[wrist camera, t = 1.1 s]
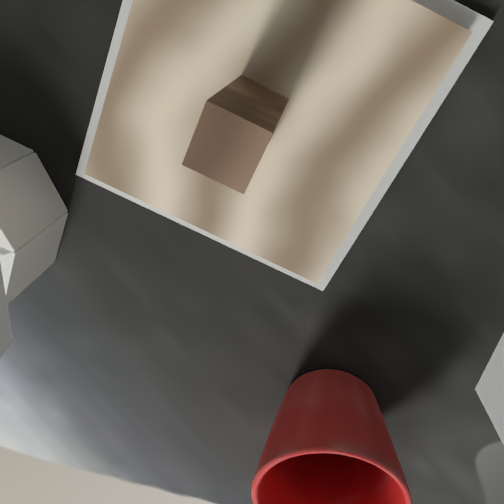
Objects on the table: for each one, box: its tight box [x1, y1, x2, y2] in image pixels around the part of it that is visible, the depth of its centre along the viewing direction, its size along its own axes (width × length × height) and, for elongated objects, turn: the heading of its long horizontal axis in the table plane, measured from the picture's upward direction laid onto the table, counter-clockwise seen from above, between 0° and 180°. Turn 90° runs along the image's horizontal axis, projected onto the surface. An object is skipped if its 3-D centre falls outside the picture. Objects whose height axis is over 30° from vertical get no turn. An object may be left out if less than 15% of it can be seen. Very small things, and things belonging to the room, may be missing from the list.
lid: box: [84, 0, 472, 283], centre depth 26 cm, size 18×18×10 cm
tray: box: [76, 0, 494, 291], centre depth 31 cm, size 20×20×1 cm
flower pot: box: [251, 369, 412, 504], centre depth 37 cm, size 11×11×10 cm
